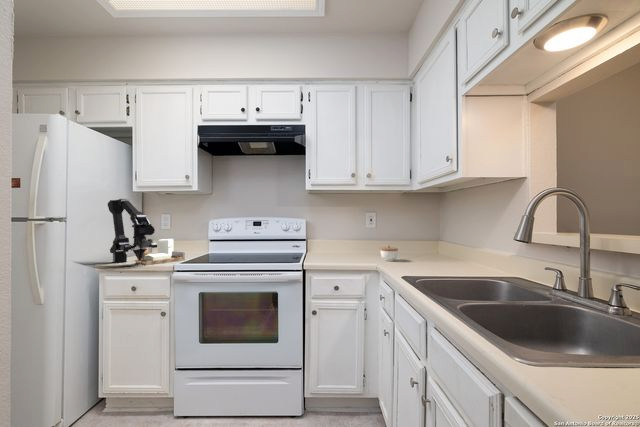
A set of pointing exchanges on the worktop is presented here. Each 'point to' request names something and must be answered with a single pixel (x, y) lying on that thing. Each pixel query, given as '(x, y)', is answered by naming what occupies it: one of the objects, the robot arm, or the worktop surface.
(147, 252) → the dowel
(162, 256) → the socket block
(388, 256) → the lidded jar
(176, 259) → the rail base
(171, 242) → the supplement box
